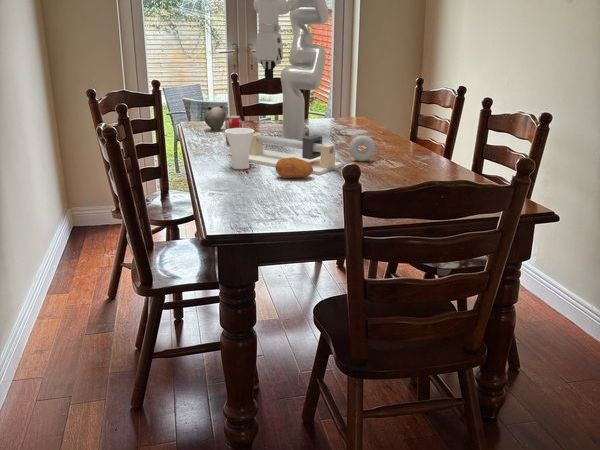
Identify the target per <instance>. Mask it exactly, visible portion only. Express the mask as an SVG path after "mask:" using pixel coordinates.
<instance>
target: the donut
mask: <svg viewBox="0 0 600 450" xmlns="http://www.w3.org/2000/svg"><path fill="white" fill-rule="evenodd" d="M361 145H364V146H365V147H366V148H365V149H366V150H365V151H363V152H362V151H360V150H359V146H361ZM348 149H349V153H350V156H351V157H352V158H353V160H356V161H358V162H366V161H369V160H371V158H373V156H374V155H375V153H376V143H375V141H374V139H372V138H371V137H369V136H368V135H363V134H362V135H361V134H360V135H357V136H355V137H353V139H352V140H350V143H349V147H348Z"/></svg>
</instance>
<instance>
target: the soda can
mask: <svg viewBox="0 0 600 450" xmlns="http://www.w3.org/2000/svg"><path fill="white" fill-rule="evenodd" d="M224 123H225V126H224V127H225V130H227V129H231V128H243V122H242V118H241V116H240V115H235V114H234V115H233V114H231V115H226V118H225V120H224ZM225 130H224V131H225ZM225 142H226V145H228V146H230V145H229V142H228V139H227V136H226V135H225Z"/></svg>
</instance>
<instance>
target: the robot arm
mask: <svg viewBox="0 0 600 450" xmlns="http://www.w3.org/2000/svg"><path fill="white" fill-rule="evenodd" d="M253 9H254V11H255V13H256V14H258V17H257V18H258V19H257V20H258V21H257V23H258V32H257V34H256V41H255V58H256V62H257V64H261V66H262V69H263V70H264V81H265V80H267V81H272V80H274V69H275V67H276V66H277V65H280V64H281V63H282V62H281V61H282V60H283V59H284V48H283V39H282V34H281V33H280V32H279V31H280V30H281V28H282V27H281V26H280V25H279V24H280V23H279V17H280V16H285V15H287V14H289V20H290V24H291V29H292V33H293V34H292V35H293V38H292V42H291V47H290V51H289V55H288V61H289V64H290V65H289V66H285V67H284V68H283V69H282V70H281V72H280V82H281V91H282V134H281V135H280V136H279V137H278V138H285V139H291V140H298V141H303V138H304V137H308V136H307V135H306V133H309V132H310V129H309V128H308V127H307V128H305V105H306V104H305V96H304V95H303V93H302V91H301V90H305V91H307V90H311V91H313V90H318V89H319V88H320V85H321V82H322V78H323V74H324V69H325V66H326V58H327V57H326V50H325V48H324V47H323V46H322V45H319V44H313V39H314V37H313V34H312V33H311V31H310V30H309V28H307V26H306V25H314V26H315V25H316V26H318V25H325V24H326V23H327V22H328V20H329V15H330V13H329V8H328V5H327V1H326V0H253Z"/></svg>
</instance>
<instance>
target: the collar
mask: <svg viewBox="0 0 600 450" xmlns="http://www.w3.org/2000/svg"><path fill="white" fill-rule="evenodd" d="M313 142H314V143H317V144H323V135H318V134H312V135H308V136H307V137H304V138H303V150H302V154H301V156H302V158H304V159H310V160H311V159H314V158H317V159H318V158H321V153H320V152H314V151H313Z"/></svg>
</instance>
